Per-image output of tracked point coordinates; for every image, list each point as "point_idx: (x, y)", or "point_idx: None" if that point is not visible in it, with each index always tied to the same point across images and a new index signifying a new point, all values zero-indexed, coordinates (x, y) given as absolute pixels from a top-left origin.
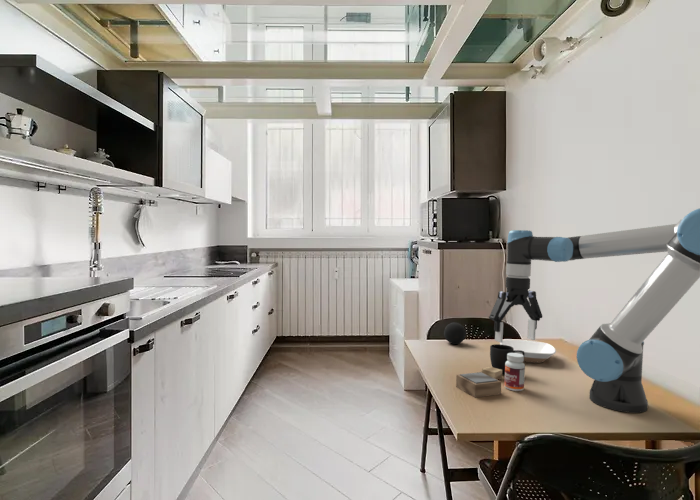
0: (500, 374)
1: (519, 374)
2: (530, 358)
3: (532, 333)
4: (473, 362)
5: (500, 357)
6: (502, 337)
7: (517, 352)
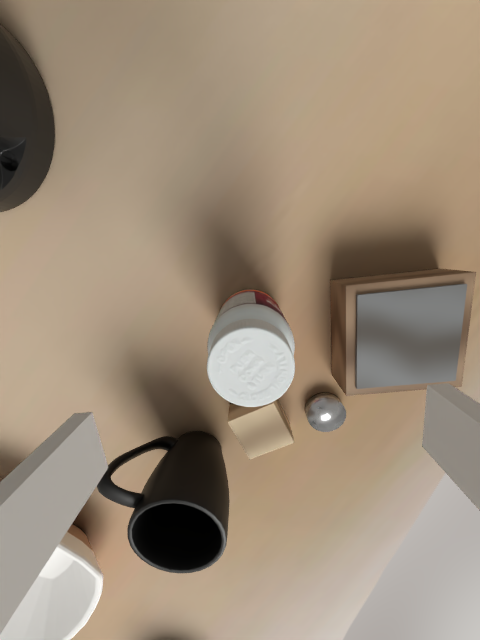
0: (239, 408)
1: (255, 299)
2: None
3: (56, 465)
4: (230, 534)
5: (211, 477)
6: (466, 410)
7: (72, 546)
